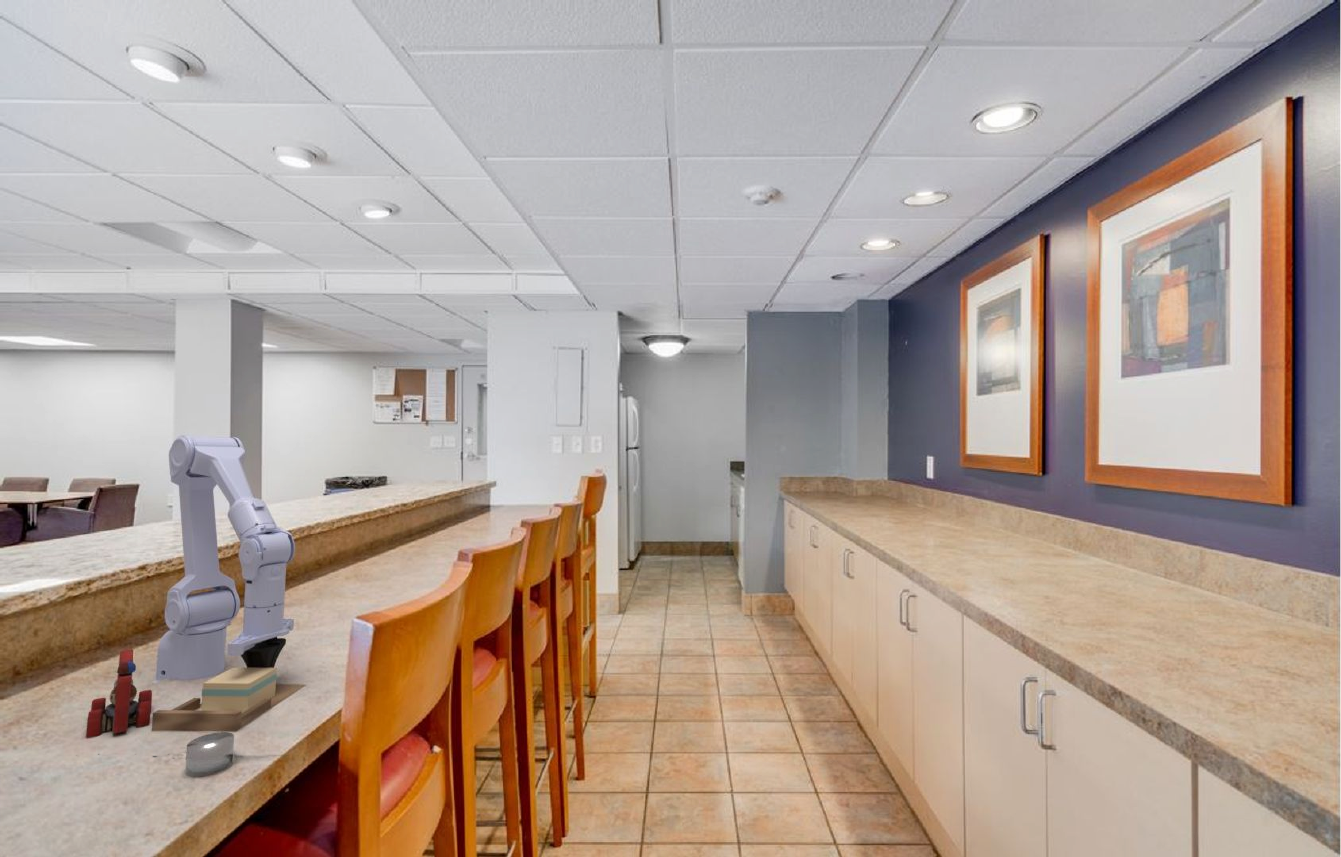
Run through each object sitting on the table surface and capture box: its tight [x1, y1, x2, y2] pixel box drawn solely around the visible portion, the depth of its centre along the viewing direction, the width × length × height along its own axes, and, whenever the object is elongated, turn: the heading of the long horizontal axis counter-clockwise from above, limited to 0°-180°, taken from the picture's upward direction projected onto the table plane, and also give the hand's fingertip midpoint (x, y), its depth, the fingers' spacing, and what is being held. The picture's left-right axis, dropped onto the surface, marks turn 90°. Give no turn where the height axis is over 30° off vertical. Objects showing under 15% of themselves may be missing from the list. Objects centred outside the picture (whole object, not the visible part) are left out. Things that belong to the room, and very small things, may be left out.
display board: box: [151, 683, 307, 733], centre depth 97 cm, size 12×18×4 cm, turn 2°
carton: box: [201, 666, 278, 713], centre depth 98 cm, size 7×7×4 cm
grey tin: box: [185, 732, 235, 778], centre depth 80 cm, size 5×5×4 cm
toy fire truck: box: [85, 648, 153, 739], centre depth 91 cm, size 7×12×10 cm, turn 40°
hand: (260, 685), depth 103 cm, fingers closed
